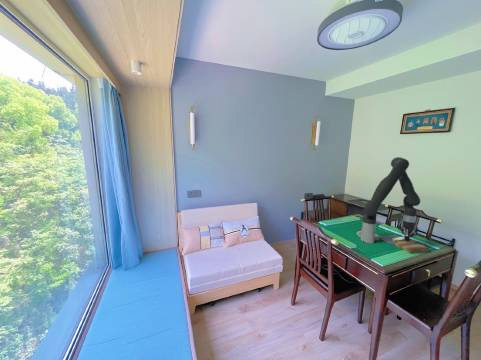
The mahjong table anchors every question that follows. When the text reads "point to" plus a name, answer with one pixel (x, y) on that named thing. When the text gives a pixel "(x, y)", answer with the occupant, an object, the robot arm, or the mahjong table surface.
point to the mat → (388, 238)
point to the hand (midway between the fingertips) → (406, 240)
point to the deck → (411, 246)
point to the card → (399, 238)
